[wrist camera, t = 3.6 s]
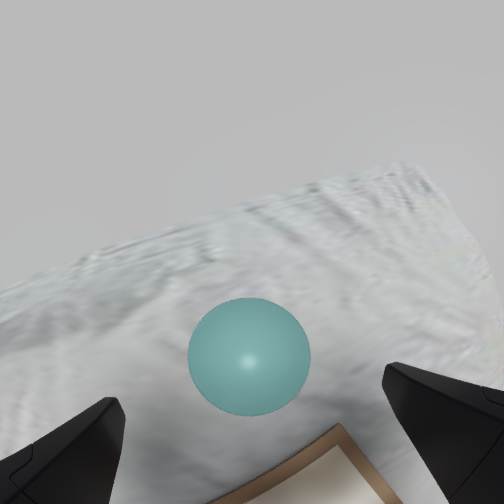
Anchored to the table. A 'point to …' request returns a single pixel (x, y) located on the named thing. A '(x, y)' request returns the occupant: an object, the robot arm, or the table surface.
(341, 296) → the table surface
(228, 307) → the marker
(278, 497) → the clipboard
